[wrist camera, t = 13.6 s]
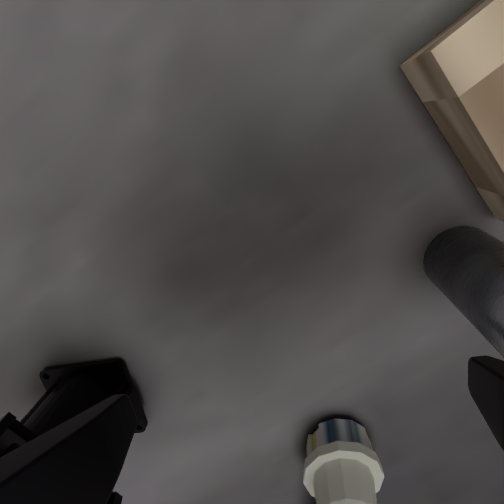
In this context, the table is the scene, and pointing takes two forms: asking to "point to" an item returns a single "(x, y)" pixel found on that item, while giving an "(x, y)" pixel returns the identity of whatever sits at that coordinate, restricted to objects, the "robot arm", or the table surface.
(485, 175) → the socket block
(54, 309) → the table surface
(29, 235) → the table surface
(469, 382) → the robot arm
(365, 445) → the grey knobbed rod
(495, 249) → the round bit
